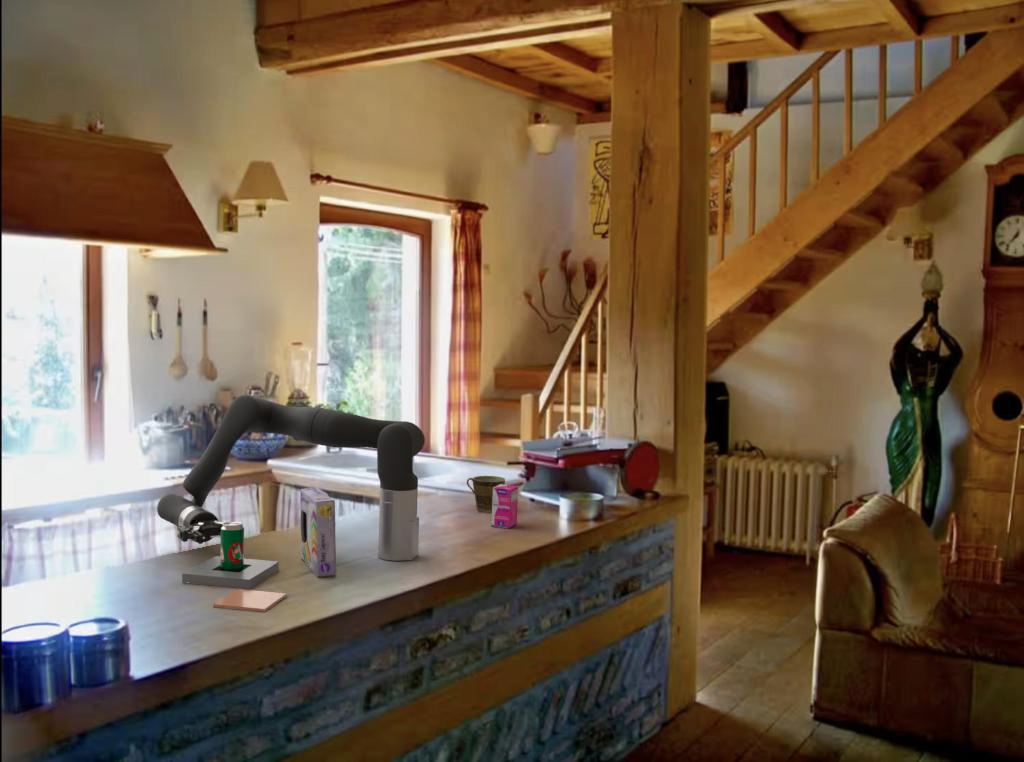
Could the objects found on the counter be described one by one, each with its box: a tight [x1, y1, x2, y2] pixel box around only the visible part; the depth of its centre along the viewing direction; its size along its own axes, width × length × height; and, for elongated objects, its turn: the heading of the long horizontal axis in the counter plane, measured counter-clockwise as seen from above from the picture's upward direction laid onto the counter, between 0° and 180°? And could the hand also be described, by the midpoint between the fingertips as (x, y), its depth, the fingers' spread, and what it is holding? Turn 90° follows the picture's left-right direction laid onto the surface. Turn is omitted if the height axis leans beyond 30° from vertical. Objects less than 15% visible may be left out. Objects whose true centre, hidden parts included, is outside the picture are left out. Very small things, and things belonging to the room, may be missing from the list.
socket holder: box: [181, 555, 280, 590], centre depth 222 cm, size 16×16×2 cm
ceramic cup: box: [466, 475, 506, 514], centre depth 302 cm, size 13×10×10 cm
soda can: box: [219, 521, 245, 572], centre depth 222 cm, size 5×5×12 cm
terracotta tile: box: [212, 588, 288, 613], centre depth 204 cm, size 11×11×1 cm
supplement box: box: [491, 484, 519, 530], centre depth 282 cm, size 6×6×12 cm
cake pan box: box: [299, 486, 337, 578], centre depth 232 cm, size 19×5×18 cm, turn 23°
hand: (219, 537), depth 229 cm, fingers open, 8 cm apart
